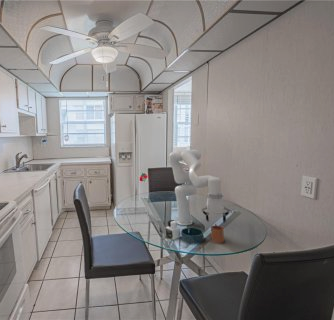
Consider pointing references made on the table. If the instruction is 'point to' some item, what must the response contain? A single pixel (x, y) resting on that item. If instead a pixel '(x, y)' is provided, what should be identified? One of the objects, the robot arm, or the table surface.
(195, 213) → the table surface
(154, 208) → the table surface
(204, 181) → the robot arm
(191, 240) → the dark teal bowl
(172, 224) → the medicine bottle
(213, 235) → the orange mug
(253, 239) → the table surface
